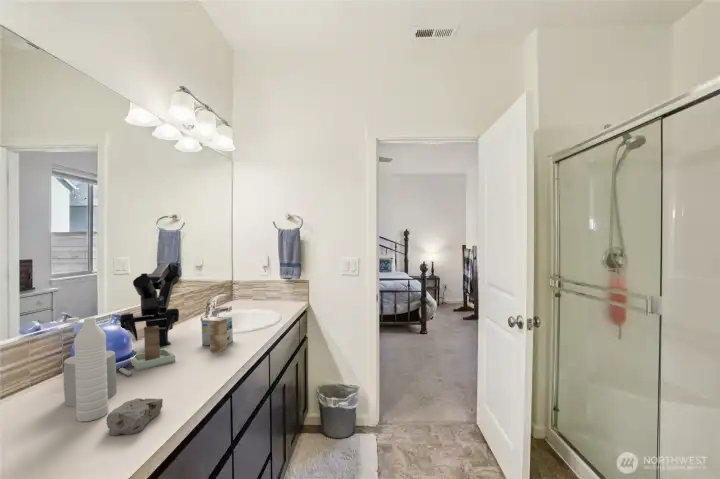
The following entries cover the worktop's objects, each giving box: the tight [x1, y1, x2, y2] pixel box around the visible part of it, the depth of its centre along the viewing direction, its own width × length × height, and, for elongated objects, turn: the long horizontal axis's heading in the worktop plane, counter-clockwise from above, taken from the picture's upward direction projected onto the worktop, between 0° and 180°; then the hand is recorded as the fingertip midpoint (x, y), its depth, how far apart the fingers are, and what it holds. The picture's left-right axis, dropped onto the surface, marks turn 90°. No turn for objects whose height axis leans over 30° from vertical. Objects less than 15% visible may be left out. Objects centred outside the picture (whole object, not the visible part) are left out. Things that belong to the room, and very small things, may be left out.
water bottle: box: [66, 316, 109, 423], centre depth 92 cm, size 9×6×25 cm
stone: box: [105, 398, 164, 437], centre depth 88 cm, size 13×6×10 cm
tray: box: [130, 347, 176, 372], centre depth 131 cm, size 12×12×2 cm
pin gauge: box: [118, 367, 133, 377], centre depth 120 cm, size 8×1×1 cm, turn 53°
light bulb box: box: [201, 316, 234, 346], centre depth 153 cm, size 11×7×11 cm, turn 84°
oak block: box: [209, 318, 228, 352], centre depth 144 cm, size 4×4×12 cm
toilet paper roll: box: [63, 349, 118, 408], centre depth 103 cm, size 12×12×12 cm
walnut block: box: [143, 325, 161, 361], centre depth 131 cm, size 4×4×12 cm
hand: (151, 337), depth 130 cm, fingers open, 9 cm apart
